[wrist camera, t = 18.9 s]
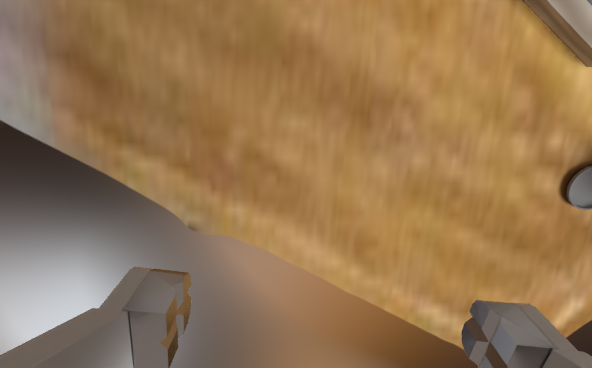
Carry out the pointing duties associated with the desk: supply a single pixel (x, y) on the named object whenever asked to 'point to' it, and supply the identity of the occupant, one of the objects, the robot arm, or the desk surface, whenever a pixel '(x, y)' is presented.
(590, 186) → the pocket watch
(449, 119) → the desk surface
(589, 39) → the dock
